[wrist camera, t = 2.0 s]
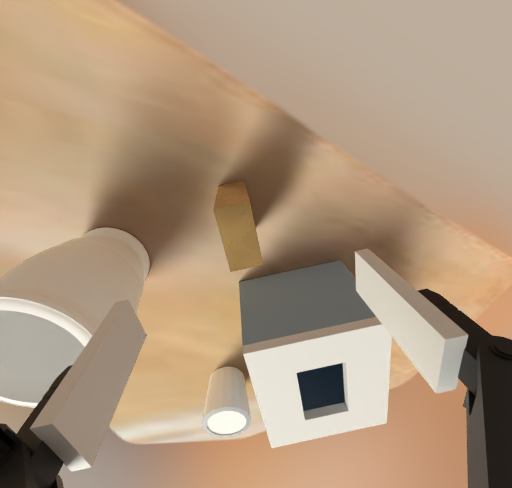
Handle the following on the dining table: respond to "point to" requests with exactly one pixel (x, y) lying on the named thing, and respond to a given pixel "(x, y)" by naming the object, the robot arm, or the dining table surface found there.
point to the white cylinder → (226, 403)
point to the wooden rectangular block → (237, 226)
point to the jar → (62, 307)
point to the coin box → (314, 353)
